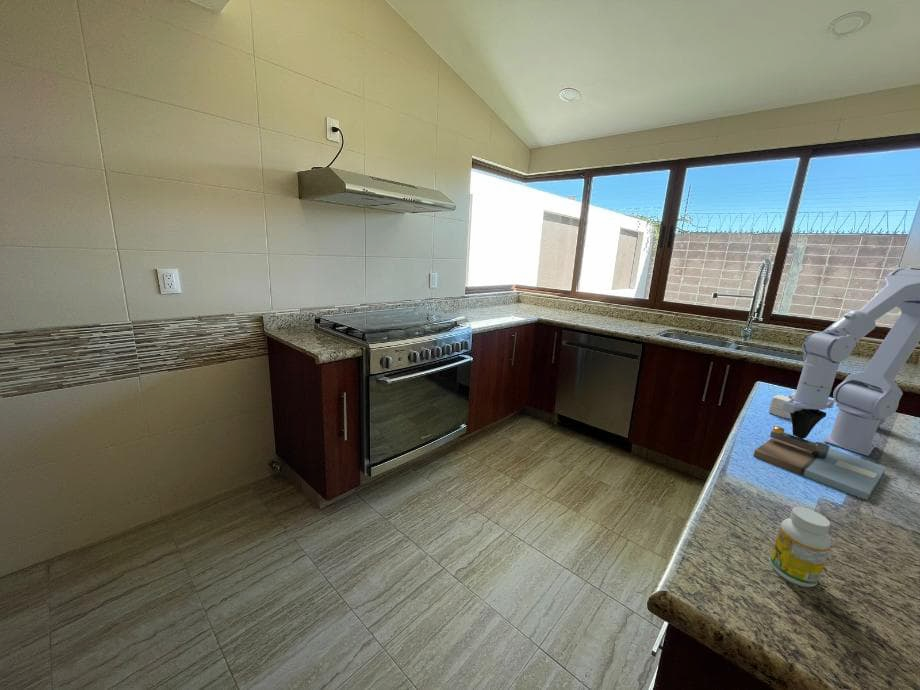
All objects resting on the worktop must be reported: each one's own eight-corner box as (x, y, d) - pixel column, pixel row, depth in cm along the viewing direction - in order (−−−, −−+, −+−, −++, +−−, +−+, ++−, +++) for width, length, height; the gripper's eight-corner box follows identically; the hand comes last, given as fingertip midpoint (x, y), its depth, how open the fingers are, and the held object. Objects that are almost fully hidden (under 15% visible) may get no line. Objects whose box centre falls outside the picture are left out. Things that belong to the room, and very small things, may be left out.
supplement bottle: (818, 595, 51) (839, 536, 49) (768, 573, 54) (786, 516, 52) (815, 571, 55) (835, 515, 53) (769, 551, 58) (786, 498, 56)
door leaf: (826, 453, 90) (828, 446, 90) (883, 473, 83) (886, 466, 82) (803, 475, 80) (805, 468, 80) (866, 500, 73) (869, 493, 72)
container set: (788, 420, 109) (794, 403, 107) (767, 413, 113) (772, 396, 111) (812, 407, 119) (817, 391, 118) (791, 401, 123) (796, 386, 122)
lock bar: (827, 456, 85) (831, 443, 84) (824, 459, 84) (828, 446, 83) (772, 437, 93) (775, 425, 92) (768, 439, 92) (772, 427, 91)
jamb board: (779, 437, 97) (781, 431, 97) (826, 453, 90) (828, 447, 90) (753, 455, 87) (755, 449, 87) (803, 475, 80) (805, 469, 80)
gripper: (815, 376, 94) (800, 426, 98) (775, 379, 90) (760, 431, 93) (851, 386, 88) (833, 439, 91) (809, 390, 83) (792, 445, 87)
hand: (799, 436), depth 92 cm, fingers closed
